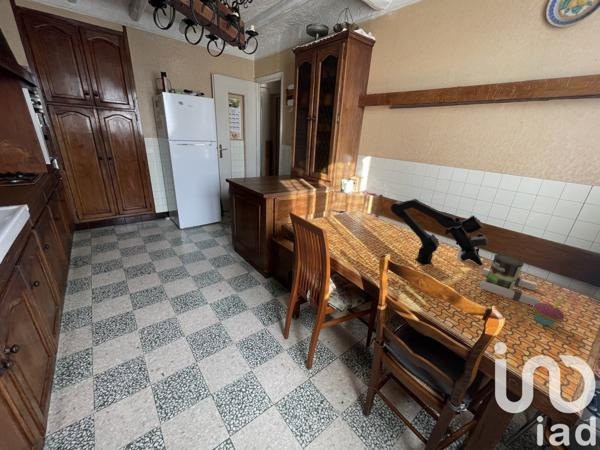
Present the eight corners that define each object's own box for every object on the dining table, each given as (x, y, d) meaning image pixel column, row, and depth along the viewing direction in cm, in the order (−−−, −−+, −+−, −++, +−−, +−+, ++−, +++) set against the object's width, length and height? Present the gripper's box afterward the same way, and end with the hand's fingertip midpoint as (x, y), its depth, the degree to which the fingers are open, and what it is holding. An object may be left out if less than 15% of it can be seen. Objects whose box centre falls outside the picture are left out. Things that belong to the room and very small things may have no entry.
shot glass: (471, 262, 134) (475, 251, 132) (458, 261, 136) (461, 249, 133) (466, 256, 141) (469, 246, 138) (453, 255, 142) (456, 244, 139)
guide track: (479, 288, 112) (481, 280, 110) (482, 272, 125) (484, 265, 123) (537, 307, 100) (541, 299, 99) (534, 288, 113) (537, 281, 112)
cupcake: (550, 317, 95) (564, 291, 91) (564, 333, 87) (579, 306, 83) (524, 311, 98) (535, 286, 93) (535, 326, 90) (548, 299, 86)
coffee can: (497, 292, 109) (508, 265, 104) (479, 279, 119) (489, 253, 113) (518, 292, 110) (530, 264, 105) (499, 279, 119) (509, 253, 114)
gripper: (476, 235, 107) (499, 266, 104) (480, 224, 120) (500, 251, 118) (451, 246, 114) (472, 275, 112) (457, 234, 128) (476, 260, 125)
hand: (481, 265), depth 116 cm, fingers closed
